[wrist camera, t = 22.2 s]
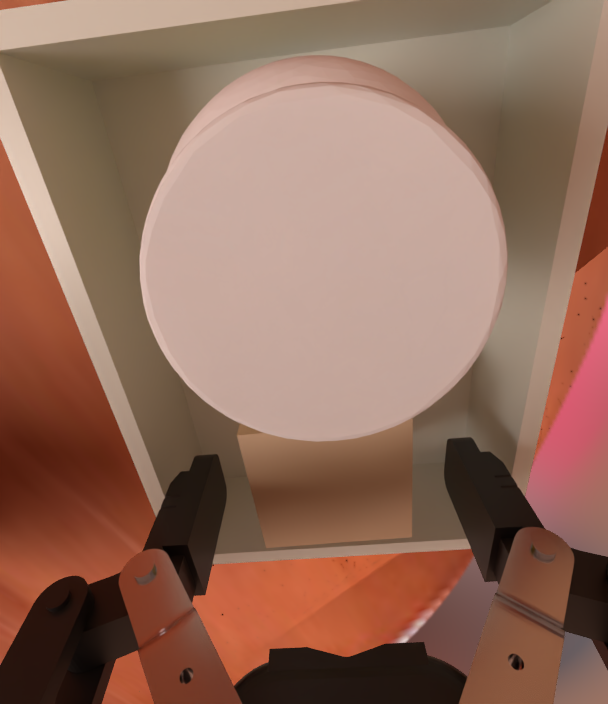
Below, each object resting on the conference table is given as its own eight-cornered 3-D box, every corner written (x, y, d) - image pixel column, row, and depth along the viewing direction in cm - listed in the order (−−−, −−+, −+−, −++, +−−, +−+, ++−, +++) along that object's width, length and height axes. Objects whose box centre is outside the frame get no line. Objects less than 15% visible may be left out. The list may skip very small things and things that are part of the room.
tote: (466, 454, 19) (513, 546, 15) (205, 473, 20) (176, 566, 16) (518, 5, 11) (654, -85, 7) (81, 64, 12) (-50, 17, 8)
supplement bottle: (420, 226, 13) (636, 377, 5) (287, 305, 15) (258, 537, 6) (342, 59, 11) (465, -247, 2) (195, 171, 12) (-59, 226, 4)
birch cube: (385, 439, 18) (411, 537, 13) (276, 448, 18) (265, 548, 13) (382, 340, 15) (413, 418, 11) (256, 353, 16) (236, 435, 11)
